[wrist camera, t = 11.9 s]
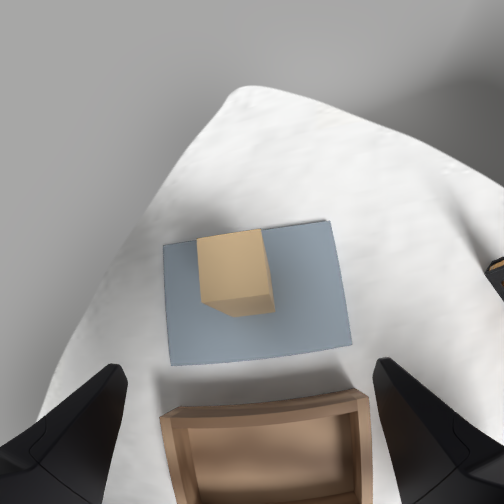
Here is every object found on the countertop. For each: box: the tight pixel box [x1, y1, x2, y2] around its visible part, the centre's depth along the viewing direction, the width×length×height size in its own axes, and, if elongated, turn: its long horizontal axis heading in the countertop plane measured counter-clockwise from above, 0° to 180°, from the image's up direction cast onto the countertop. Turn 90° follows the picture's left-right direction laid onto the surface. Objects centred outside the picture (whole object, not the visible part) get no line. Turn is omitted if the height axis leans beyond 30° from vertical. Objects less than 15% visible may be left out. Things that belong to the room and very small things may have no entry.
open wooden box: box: [159, 388, 373, 504], centre depth 17 cm, size 10×14×4 cm
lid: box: [163, 221, 352, 366], centre depth 19 cm, size 10×14×10 cm
